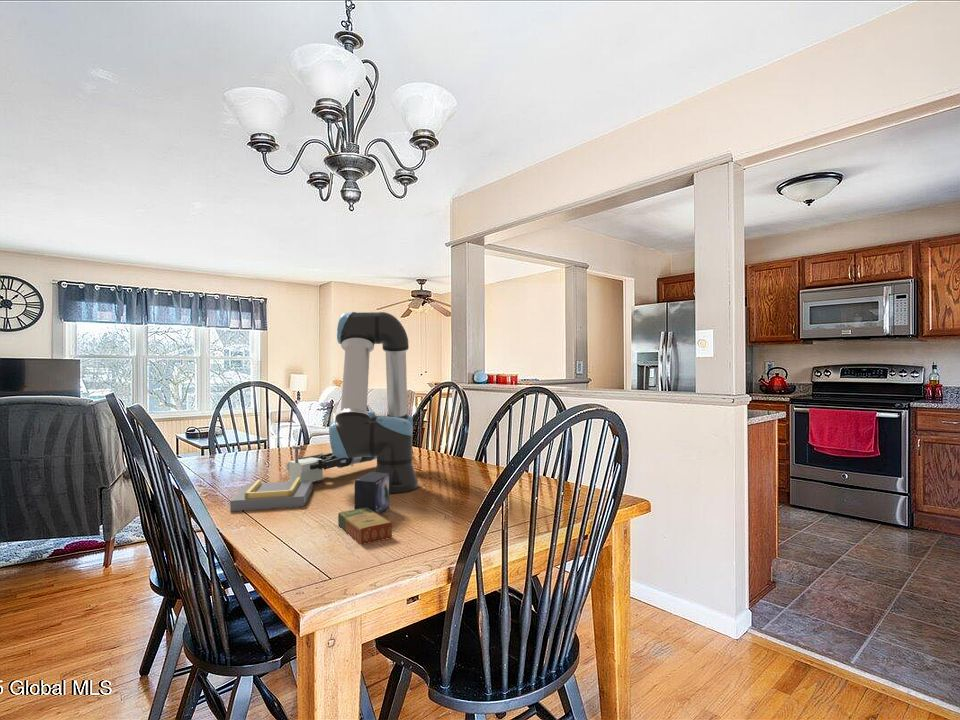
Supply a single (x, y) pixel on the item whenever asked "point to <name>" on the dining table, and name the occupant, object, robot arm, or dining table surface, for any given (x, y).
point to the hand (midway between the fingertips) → (293, 467)
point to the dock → (272, 495)
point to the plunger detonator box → (310, 475)
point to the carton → (365, 525)
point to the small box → (372, 492)
